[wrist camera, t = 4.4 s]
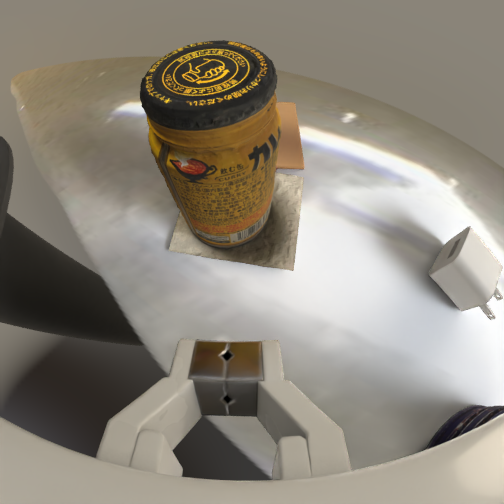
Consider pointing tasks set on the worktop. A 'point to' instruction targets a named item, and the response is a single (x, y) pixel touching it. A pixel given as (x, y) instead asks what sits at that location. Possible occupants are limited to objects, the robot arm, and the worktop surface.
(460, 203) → the worktop surface
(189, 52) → the condiment
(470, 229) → the usb wall charger
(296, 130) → the copper flat rectangular plate
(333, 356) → the worktop surface
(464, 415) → the storage jar
